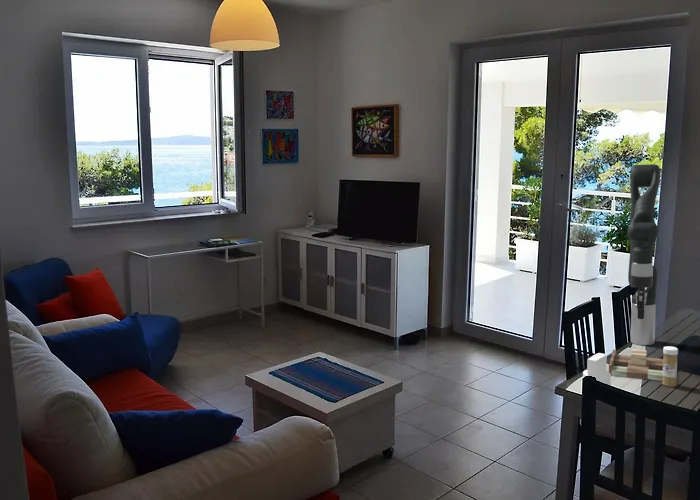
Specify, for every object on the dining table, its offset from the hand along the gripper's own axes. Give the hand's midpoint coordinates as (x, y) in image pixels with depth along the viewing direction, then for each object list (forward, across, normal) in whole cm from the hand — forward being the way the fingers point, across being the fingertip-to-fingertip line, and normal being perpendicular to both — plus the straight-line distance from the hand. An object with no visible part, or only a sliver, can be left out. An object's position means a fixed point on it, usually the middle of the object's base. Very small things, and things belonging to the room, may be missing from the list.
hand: (640, 317), depth 241 cm
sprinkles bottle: (+17, -25, -10) cm, 32 cm away
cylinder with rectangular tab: (+17, -38, +12) cm, 43 cm away
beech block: (+15, -10, 0) cm, 18 cm away
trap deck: (+17, -12, 0) cm, 21 cm away
